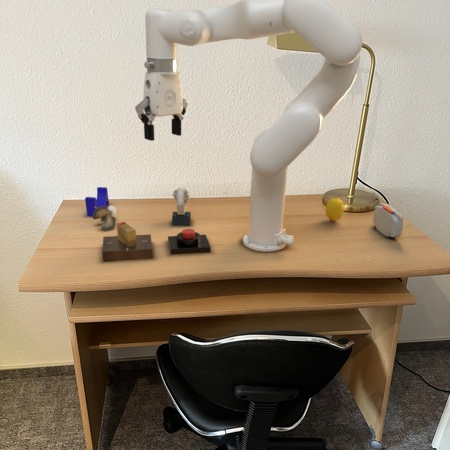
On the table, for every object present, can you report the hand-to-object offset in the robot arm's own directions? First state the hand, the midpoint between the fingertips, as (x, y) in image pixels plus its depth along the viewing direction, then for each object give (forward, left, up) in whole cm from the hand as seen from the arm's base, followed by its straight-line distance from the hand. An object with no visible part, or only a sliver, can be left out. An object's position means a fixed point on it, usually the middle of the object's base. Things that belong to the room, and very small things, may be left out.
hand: (163, 137), depth 131 cm
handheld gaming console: (-54, -38, -29) cm, 72 cm away
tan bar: (+2, +15, -25) cm, 30 cm away
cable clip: (+31, -6, -29) cm, 43 cm away
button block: (-10, +3, -29) cm, 30 cm away
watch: (+2, -11, -29) cm, 31 cm away
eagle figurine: (+21, +3, -29) cm, 36 cm away
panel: (+2, +15, -29) cm, 32 cm away
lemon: (-38, -39, -29) cm, 61 cm away
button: (-10, +3, -25) cm, 27 cm away
